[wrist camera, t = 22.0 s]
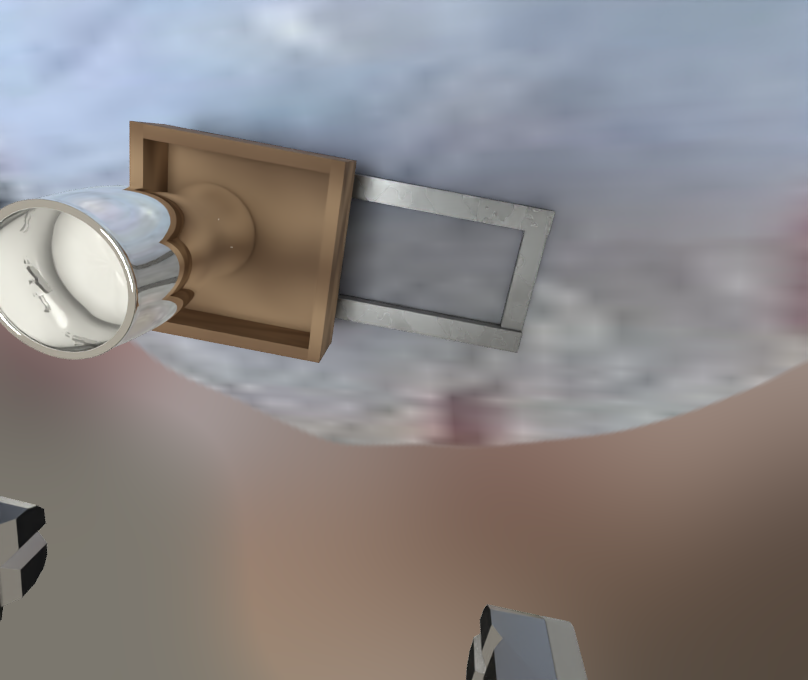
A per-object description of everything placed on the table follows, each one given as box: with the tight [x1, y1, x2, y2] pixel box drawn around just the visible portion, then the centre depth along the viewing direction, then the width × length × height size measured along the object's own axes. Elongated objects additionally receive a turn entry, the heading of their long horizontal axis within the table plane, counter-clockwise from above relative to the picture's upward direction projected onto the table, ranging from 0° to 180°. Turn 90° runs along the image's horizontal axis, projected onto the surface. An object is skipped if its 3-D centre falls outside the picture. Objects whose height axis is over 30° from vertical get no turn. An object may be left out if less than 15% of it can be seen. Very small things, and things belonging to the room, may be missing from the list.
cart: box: [130, 121, 357, 363], centre depth 35 cm, size 13×13×6 cm
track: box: [335, 173, 555, 353], centre depth 38 cm, size 11×27×2 cm, turn 80°
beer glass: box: [0, 183, 255, 359], centre depth 28 cm, size 7×7×15 cm
